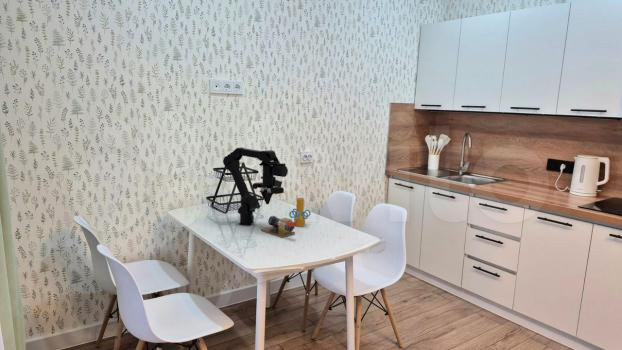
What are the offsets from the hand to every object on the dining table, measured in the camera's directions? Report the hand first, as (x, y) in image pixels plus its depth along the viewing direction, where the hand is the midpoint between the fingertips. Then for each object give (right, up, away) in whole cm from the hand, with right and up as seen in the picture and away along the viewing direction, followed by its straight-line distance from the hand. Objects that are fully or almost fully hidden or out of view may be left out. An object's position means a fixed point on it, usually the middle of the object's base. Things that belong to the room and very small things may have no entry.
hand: (267, 204), depth 227 cm
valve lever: (+7, -9, -9) cm, 15 cm away
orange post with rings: (+16, -12, +10) cm, 23 cm away
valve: (+6, -14, -5) cm, 16 cm away
